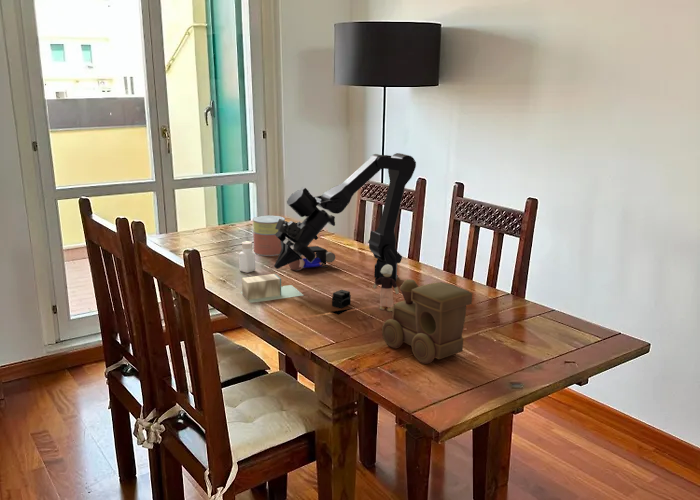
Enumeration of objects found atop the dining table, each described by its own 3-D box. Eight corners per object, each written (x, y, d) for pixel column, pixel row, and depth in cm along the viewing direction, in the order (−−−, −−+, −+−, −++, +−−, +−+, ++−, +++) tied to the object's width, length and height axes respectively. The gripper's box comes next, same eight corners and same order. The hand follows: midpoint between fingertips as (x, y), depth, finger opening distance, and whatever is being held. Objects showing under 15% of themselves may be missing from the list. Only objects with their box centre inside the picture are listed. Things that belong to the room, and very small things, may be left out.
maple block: (275, 273, 191) (241, 277, 186) (281, 278, 186) (247, 283, 182) (275, 290, 192) (242, 294, 188) (281, 295, 188) (247, 299, 183)
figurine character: (324, 266, 223) (284, 268, 214) (326, 244, 221) (286, 245, 213) (334, 272, 217) (293, 273, 209) (336, 249, 215) (296, 250, 207)
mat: (291, 286, 197) (291, 285, 197) (304, 296, 188) (304, 295, 188) (239, 293, 190) (239, 291, 190) (250, 304, 181) (250, 302, 181)
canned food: (291, 250, 236) (291, 218, 233) (271, 257, 227) (271, 224, 223) (267, 245, 242) (266, 214, 238) (246, 252, 232) (246, 219, 229)
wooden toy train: (470, 359, 150) (475, 291, 145) (435, 372, 143) (439, 301, 138) (411, 332, 165) (414, 269, 160) (376, 342, 158) (378, 277, 154)
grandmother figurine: (400, 308, 181) (402, 264, 178) (397, 312, 178) (399, 268, 174) (374, 304, 183) (375, 261, 180) (370, 308, 180) (371, 264, 177)
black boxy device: (337, 318, 174) (337, 301, 173) (314, 312, 178) (314, 295, 177) (366, 305, 184) (366, 289, 183) (344, 299, 189) (344, 283, 187)
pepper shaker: (247, 273, 209) (246, 244, 206) (238, 271, 211) (237, 242, 208) (256, 270, 212) (255, 242, 209) (247, 268, 214) (246, 240, 211)
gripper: (281, 203, 193) (245, 242, 192) (305, 215, 177) (267, 259, 175) (305, 226, 199) (271, 265, 197) (331, 241, 183) (294, 283, 181)
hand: (275, 267), depth 188 cm, fingers closed
